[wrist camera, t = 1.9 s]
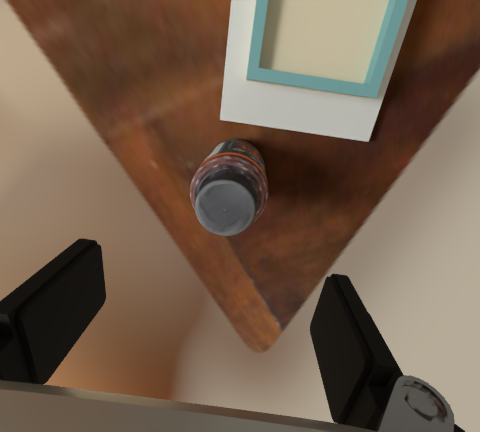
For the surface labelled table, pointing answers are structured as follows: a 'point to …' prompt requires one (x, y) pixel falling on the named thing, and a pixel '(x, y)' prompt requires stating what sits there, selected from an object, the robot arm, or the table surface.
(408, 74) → the table surface
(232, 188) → the supplement bottle
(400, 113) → the table surface
